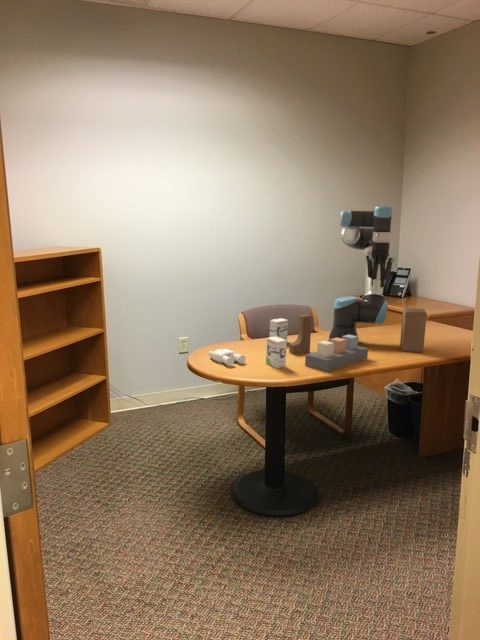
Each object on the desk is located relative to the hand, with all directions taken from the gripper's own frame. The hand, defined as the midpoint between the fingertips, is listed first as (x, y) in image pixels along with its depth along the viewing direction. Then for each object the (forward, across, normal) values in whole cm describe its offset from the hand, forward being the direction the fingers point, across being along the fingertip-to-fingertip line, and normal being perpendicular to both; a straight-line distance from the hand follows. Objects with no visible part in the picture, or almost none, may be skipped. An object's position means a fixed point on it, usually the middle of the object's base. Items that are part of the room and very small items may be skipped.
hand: (377, 293), depth 232 cm
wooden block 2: (+30, +6, +25) cm, 39 cm away
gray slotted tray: (+29, -5, -21) cm, 37 cm away
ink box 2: (+30, -20, -45) cm, 58 cm away
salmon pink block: (+26, -5, -21) cm, 34 cm away
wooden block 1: (+30, -26, -22) cm, 45 cm away
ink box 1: (+30, -46, -15) cm, 57 cm away
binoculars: (+30, -39, -57) cm, 76 cm away
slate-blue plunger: (+26, -5, -12) cm, 29 cm away
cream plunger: (+26, -5, -30) cm, 40 cm away
